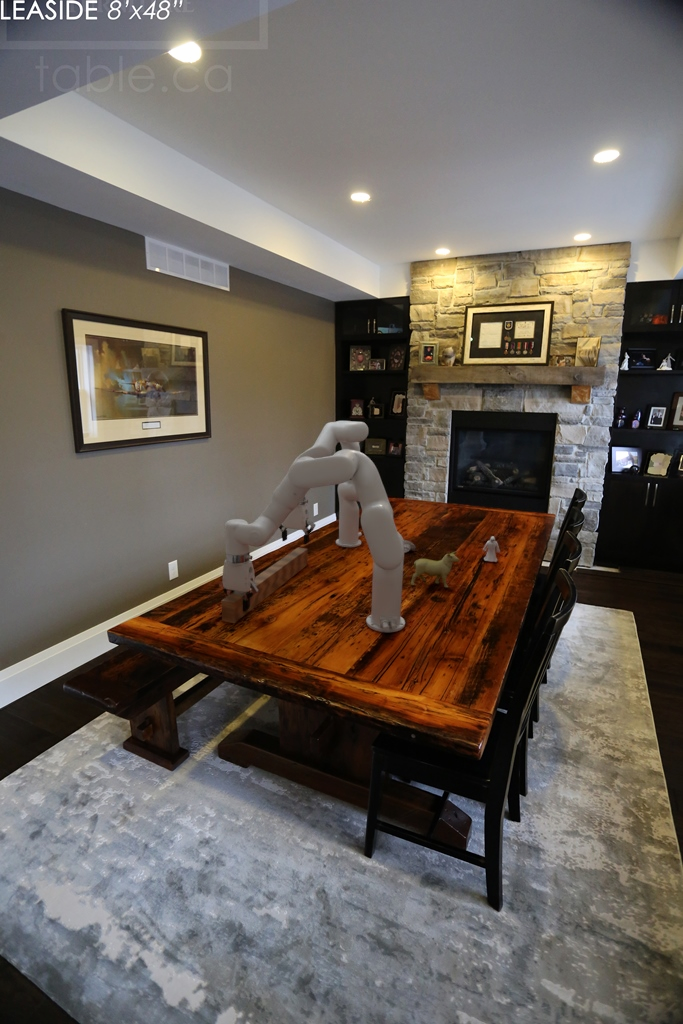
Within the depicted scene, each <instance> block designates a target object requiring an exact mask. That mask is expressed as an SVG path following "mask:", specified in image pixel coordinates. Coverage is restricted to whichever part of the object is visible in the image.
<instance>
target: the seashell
mask: <svg viewBox="0 0 683 1024" xmlns="http://www.w3.org/2000/svg"><path fill="white" fill-rule="evenodd" d="M403 540H404V554H405V553H408V552H410V551H412V552H413V551H416V548H417V546H416V544H414V543H413V542H412V541H411V540H408V539H403Z"/></svg>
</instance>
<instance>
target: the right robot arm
mask: <svg viewBox="0 0 683 1024" xmlns="http://www.w3.org/2000/svg"><path fill="white" fill-rule="evenodd" d="M294 461H295V460H294ZM294 461H293V462H294ZM293 462H292V463H291V465H290V466H289V468H288V471H287V473H286V475H285V476H284V477H283V478H282V480H281V481H280V483H278V485H277V486H276V488H275V489H274V490H273V492H272V497H271V500H270V501H269V503H268V504H267V506H266V507H265V508H264V510H263V511H262V512H261V513H260V515H259V516H258V517H257V518H256V519H255V520H254V521H253V522H251V523H249V522H248V521H247V520H245V519H242V518H233V519H229V520H227V521H226V522H225V523H224V544H225V545H224V546H225V560H224V562H223V568H222V581H221V582H220V583H219V584H218V587H219V588H220V589H221V590H222V591H223V592H224V594H225V595H226V597H227V596H229V595H230V594H232V593H233V592H234V591H240V592H242V593H243V597H244V600H243V611H244V612H245V611H247V610H248V609H249V608H250V598H251V597H252V596H253V595H254V594H256V593H257V592H259V590H258V589H257V587H256V586H255V577H256V576H255V569H254V564H253V561H252V560H253V557H254V556H253V555H251V553H250V547H255V548H257V547H263V546H265V545H266V544H267V543H268V541H269V540H270V539H271V538H272V537H273V536H274V535H275V533H276V532H278V530H279V527H280V525H281V524H282V525H283V522H284V520H285V519H286V518H287V516H288V515H289V514H290V513H291V512H292V511H293V510H294V509H295V508H296V506H297V505H298V504H299V502H300V501H301V500H302V498H303V497H304V496H305V497H306V495H307V493H308V492H309V491H310V490H311V489H315V488H320V487H321V488H322V487H328V486H334V485H339V484H341V483H345V482H347V481H349V480H352V481H353V483H354V486H355V490H356V493H357V495H358V498H359V501H360V502H359V501H358V502H359V504H360V507H361V515H360V526H361V529H362V532H363V535H364V538H365V541H366V544H367V547H368V550H369V553H370V556H371V558H372V561H373V563H372V585H371V586H372V587H371V607H370V609H371V613H370V615H368V616H367V617H366V621H365V622H366V623H365V624H366V625H367V627H368V628H369V629H372V630H373V631H376V632H379V633H396V632H398V631H402V630H403V629H404V628H405V626H406V620H405V618H403V617H402V615H401V614H402V599H403V598H402V597H403V580H404V561H405V552H404V540H405V539H404V538H403V536H402V534H401V533H400V532H399V531H398V529H397V526H396V524H395V519H394V510H393V507H392V505H391V503H390V500H389V498H388V494H387V492H386V488H385V486H384V484H383V481H382V478H381V475H380V473H379V470H378V468H377V466H376V465H375V462H373V460H371V458H370V457H369V456H367V455H366V454H365V453H363V452H361V451H360V452H359V451H355V450H350V449H344V450H342V449H341V450H338V451H336V452H334V454H333V455H331V456H327V457H322V458H315V459H314V458H312V457H308V456H305V457H301V458H299V459H298V460H296V461H295V462H294V463H293ZM250 588H251V589H252V592H251V593H250Z"/></svg>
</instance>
